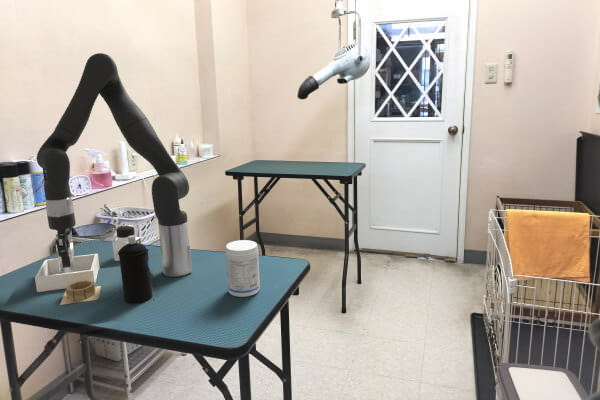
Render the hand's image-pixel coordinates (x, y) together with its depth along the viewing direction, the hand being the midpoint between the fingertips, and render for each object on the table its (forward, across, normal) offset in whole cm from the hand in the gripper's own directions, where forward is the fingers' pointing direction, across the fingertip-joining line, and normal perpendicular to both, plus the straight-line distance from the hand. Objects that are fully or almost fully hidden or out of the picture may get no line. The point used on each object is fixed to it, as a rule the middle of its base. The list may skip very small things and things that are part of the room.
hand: (68, 263), depth 152 cm
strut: (+5, 0, -1) cm, 5 cm away
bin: (+6, 0, 0) cm, 6 cm away
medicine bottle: (+7, -17, +17) cm, 25 cm away
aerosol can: (+7, +23, +21) cm, 32 cm away
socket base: (+6, +15, +5) cm, 17 cm away
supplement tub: (+7, +26, +51) cm, 58 cm away
